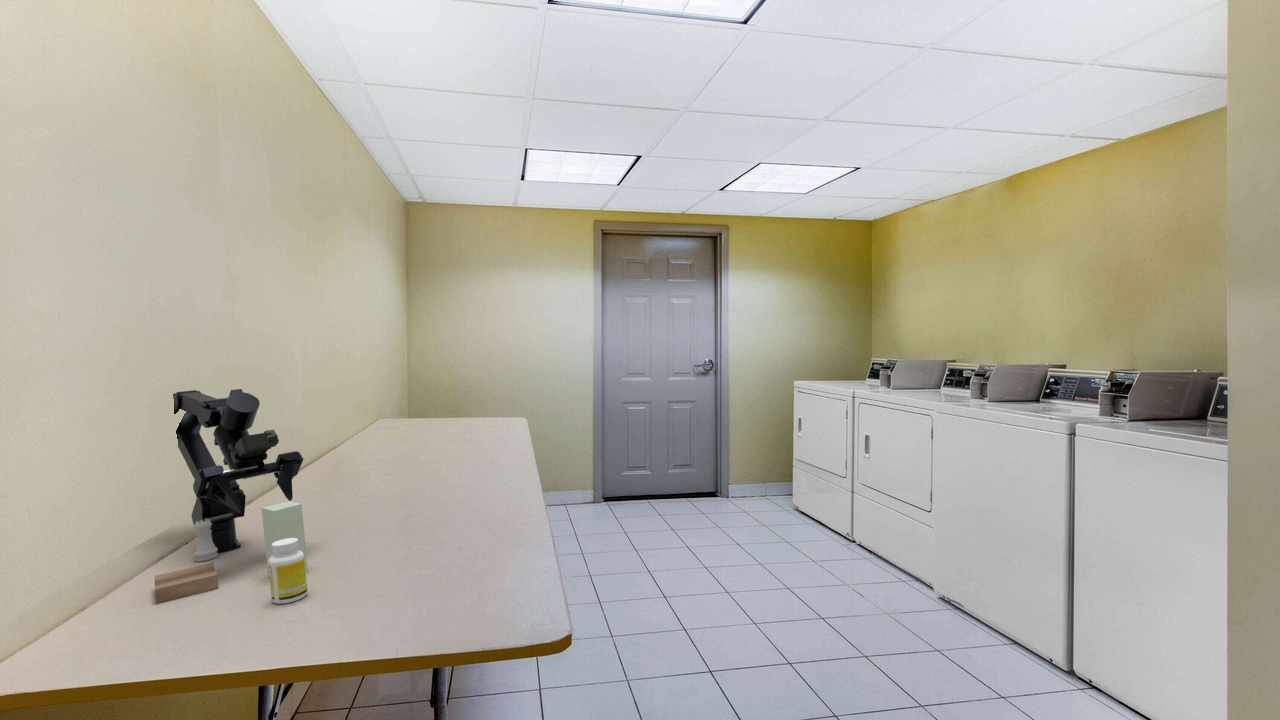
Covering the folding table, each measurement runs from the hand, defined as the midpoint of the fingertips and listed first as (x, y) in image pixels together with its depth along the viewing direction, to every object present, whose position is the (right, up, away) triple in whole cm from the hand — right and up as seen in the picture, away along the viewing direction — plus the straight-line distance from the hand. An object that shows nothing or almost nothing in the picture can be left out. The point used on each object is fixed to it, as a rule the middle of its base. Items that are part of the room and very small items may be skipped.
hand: (266, 505), depth 126 cm
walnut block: (-10, -14, -8) cm, 19 cm away
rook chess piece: (-18, -13, +9) cm, 24 cm away
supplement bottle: (+13, -13, -16) cm, 24 cm away
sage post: (+6, -12, -3) cm, 14 cm away
